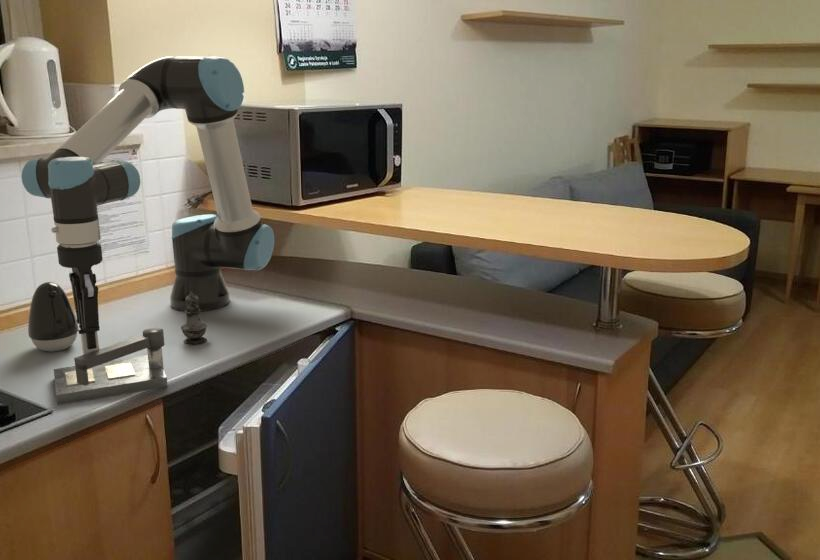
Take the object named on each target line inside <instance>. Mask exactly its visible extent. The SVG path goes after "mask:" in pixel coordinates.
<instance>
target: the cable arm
mask: <svg viewBox="0 0 820 560" xmlns="http://www.w3.org/2000/svg"><path fill="white" fill-rule="evenodd" d="M164 346H165V333H164V329H163V328H160V327H151V328H146V329H144V330H143V331H142V335H138V336H135V337H132V338H130V339H129V338H128V339H125V340H124V341H120V342H118V343H114V344H111V345H108V346H104V347H103V348H99V350H96V351H93V352H90V353H87V354H84V355H83V354H82V355H79V356H77V357H74V358H73V359H74V366H75V369H76V377H77V383H79V384H82V385H84V386H86V385H88V384H89V381H88V373H87V369H90V368H92V367H95V366H98V365H101V364H104V363H106V362H109V361H112V360H119V358H120V359H121V358H122V357H126V356H128V355H131V354H133V353H134V354H135V353H137V352H140V351H142V350H145V349H147V348H148V349H155V348H160V347H162V348H163V347H164Z"/></svg>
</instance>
